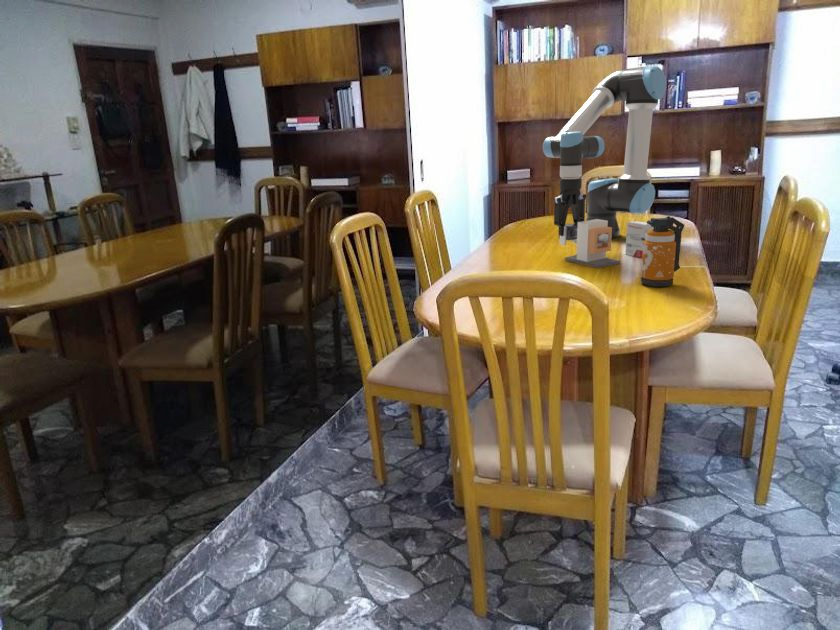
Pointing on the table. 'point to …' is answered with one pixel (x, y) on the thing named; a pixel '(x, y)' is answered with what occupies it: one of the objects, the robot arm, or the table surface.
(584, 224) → the bearing block
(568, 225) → the shaft
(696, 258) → the table surface
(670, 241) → the canister
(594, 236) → the plate
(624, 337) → the table surface
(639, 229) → the ink box
